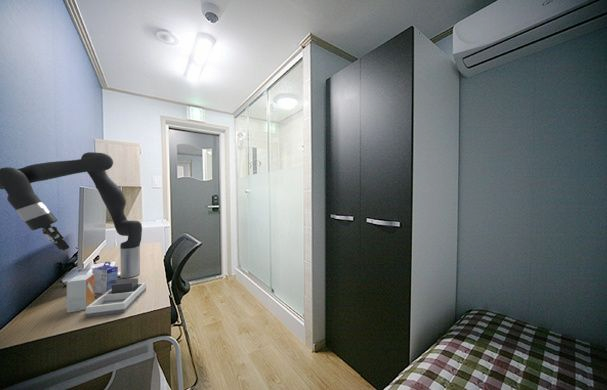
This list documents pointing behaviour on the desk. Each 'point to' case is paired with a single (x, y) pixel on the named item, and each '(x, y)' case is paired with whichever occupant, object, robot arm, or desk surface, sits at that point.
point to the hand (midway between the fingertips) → (64, 248)
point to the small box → (80, 292)
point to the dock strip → (117, 298)
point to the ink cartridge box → (104, 277)
